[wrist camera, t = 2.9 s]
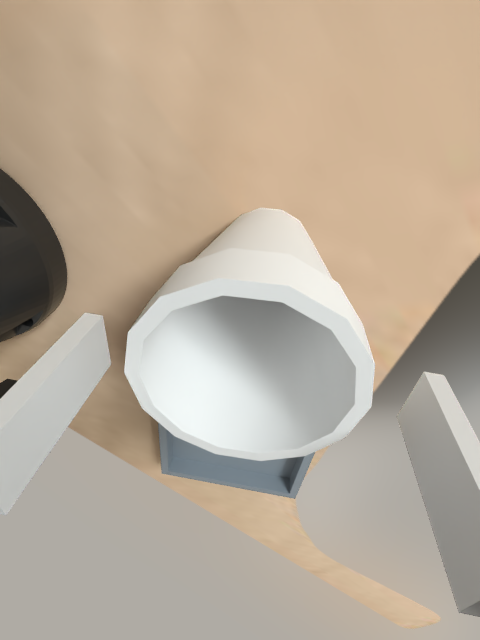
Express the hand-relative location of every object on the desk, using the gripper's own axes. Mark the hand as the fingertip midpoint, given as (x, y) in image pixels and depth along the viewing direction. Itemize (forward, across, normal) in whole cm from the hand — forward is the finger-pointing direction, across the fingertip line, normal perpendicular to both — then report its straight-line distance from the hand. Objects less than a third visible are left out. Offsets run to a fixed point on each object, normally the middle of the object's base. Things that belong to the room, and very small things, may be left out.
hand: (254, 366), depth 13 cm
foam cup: (+12, 0, 0) cm, 12 cm away
